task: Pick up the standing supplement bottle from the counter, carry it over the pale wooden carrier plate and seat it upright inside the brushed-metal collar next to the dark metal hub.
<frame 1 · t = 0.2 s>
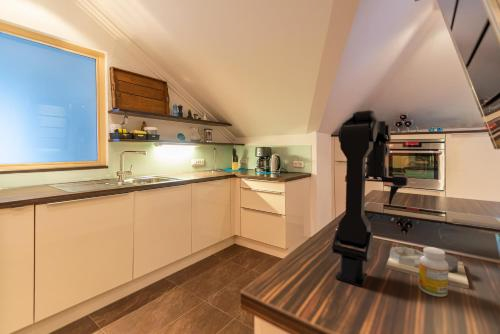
hand: (374, 203, 82), 14 cm above the worktop, tool pointing down, fingers open, 9 cm apart
carrier plate: (424, 266, 66), on the worktop
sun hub: (445, 271, 64), resting on carrier plate
supplement bottle: (432, 291, 55), on the worktop
socket collar: (407, 262, 69), resting on carrier plate
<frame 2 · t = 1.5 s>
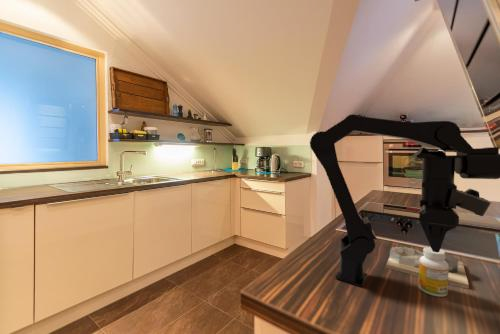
hand: (434, 244, 54), 11 cm above the worktop, tool pointing down, fingers open, 9 cm apart
nothing on the worktop moved.
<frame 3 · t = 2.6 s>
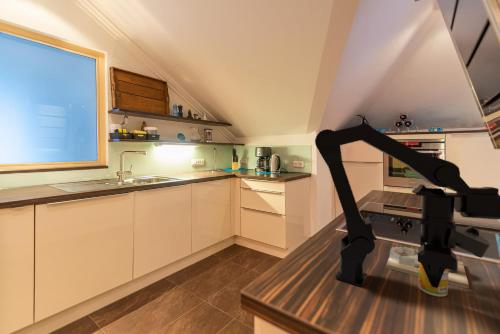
hand: (434, 280, 55), 3 cm above the worktop, tool pointing down, fingers open, 6 cm apart
supplement bottle: (432, 291, 55), on the worktop, touching gripper
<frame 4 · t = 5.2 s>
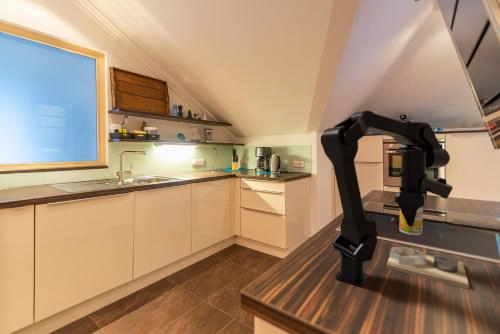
hand: (411, 223, 67), 12 cm above the worktop, tool pointing down, fingers closed on supplement bottle, 5 cm apart
supplement bottle: (410, 232, 67), point 9 cm above the worktop, touching gripper
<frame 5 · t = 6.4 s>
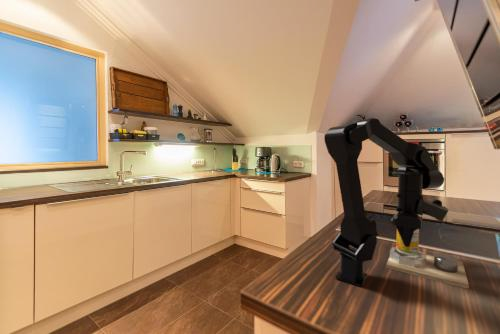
hand: (407, 243, 68), 6 cm above the worktop, tool pointing down, fingers closed on supplement bottle, 5 cm apart
supplement bottle: (406, 252, 69), point 3 cm above the worktop, touching gripper
when the fingers open (4 cm above the worktop, at t = 7.5 s): supplement bottle stays where it is, resting on carrier plate.
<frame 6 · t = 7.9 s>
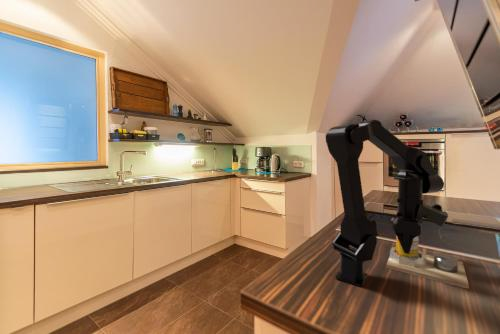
hand: (408, 247, 68), 4 cm above the worktop, tool pointing down, fingers open, 9 cm apart
supplement bottle: (406, 259, 69), point 1 cm above the worktop, touching carrier plate
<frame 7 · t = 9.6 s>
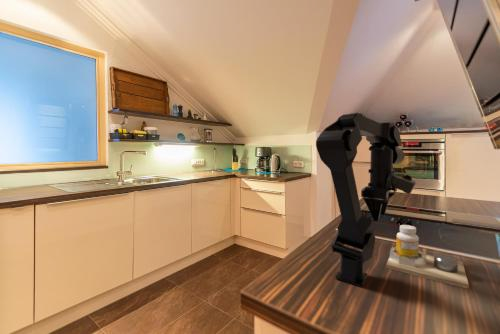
hand: (379, 217, 71), 13 cm above the worktop, tool pointing down, fingers open, 9 cm apart
nothing on the worktop moved.
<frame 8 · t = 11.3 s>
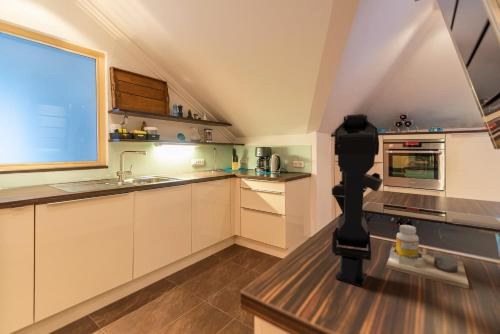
hand: (350, 214, 74), 13 cm above the worktop, tool pointing down, fingers open, 9 cm apart
nothing on the worktop moved.
at the end: supplement bottle 0.2 cm off-centre on the socket collar, point 0.8 cm above the socket collar's base; supplement bottle tilted 0°; the gripper is holding nothing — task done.
